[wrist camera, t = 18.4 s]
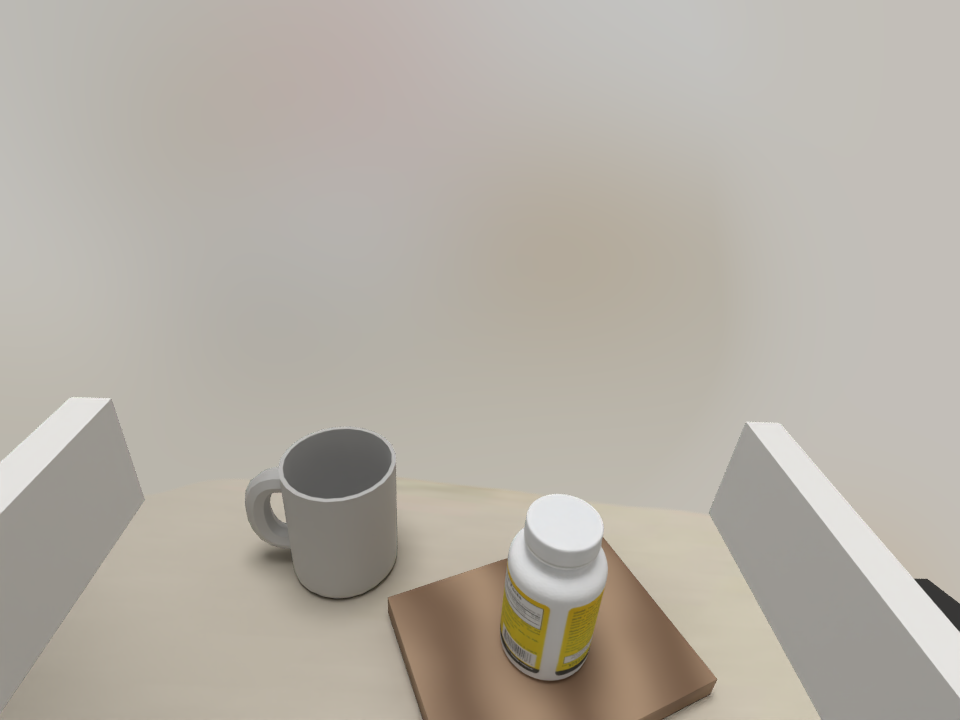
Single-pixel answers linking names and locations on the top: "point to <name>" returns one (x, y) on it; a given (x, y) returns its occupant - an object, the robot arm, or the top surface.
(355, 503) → the cup
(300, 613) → the top surface
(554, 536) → the supplement bottle
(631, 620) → the walnut board
